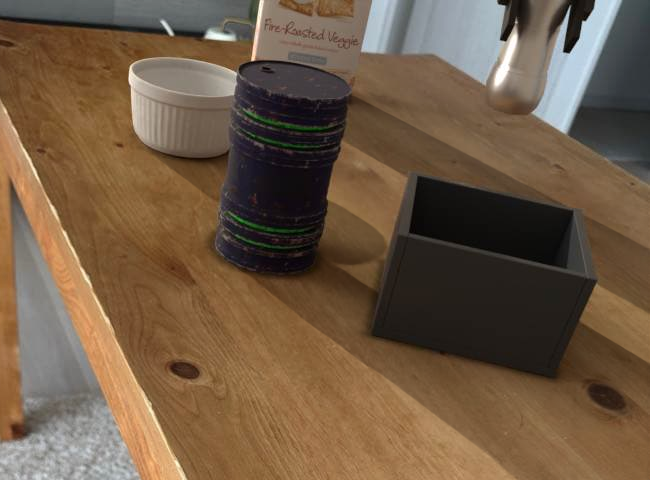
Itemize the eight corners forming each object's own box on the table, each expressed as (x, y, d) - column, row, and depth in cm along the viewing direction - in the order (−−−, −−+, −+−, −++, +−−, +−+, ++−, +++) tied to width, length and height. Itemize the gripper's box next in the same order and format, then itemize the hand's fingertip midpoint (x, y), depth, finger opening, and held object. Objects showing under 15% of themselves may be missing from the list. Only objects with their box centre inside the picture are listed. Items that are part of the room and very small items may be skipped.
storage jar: (336, 254, 84) (374, 87, 74) (282, 286, 77) (316, 108, 67) (251, 217, 87) (276, 53, 77) (192, 245, 81) (211, 70, 71)
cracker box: (250, 89, 118) (276, -100, 103) (248, 75, 122) (273, -108, 108) (351, 104, 119) (391, -80, 105) (346, 90, 124) (383, -88, 110)
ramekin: (102, 126, 99) (104, 59, 95) (191, 114, 107) (198, 52, 102) (174, 171, 93) (180, 101, 88) (264, 155, 100) (274, 90, 96)
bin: (544, 299, 83) (582, 209, 77) (553, 377, 73) (598, 280, 67) (384, 262, 84) (409, 170, 78) (370, 334, 73) (398, 234, 67)
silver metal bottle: (467, 105, 100) (530, -109, 86) (502, 100, 104) (568, -106, 90) (511, 125, 97) (585, -94, 83) (546, 119, 100) (622, -92, 87)
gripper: (646, -123, 97) (612, 76, 96) (476, -156, 97) (441, 44, 96) (681, -182, 89) (645, 34, 88) (497, -218, 89) (459, -2, 88)
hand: (539, 38), depth 92 cm, fingers closed on silver metal bottle, 6 cm apart
